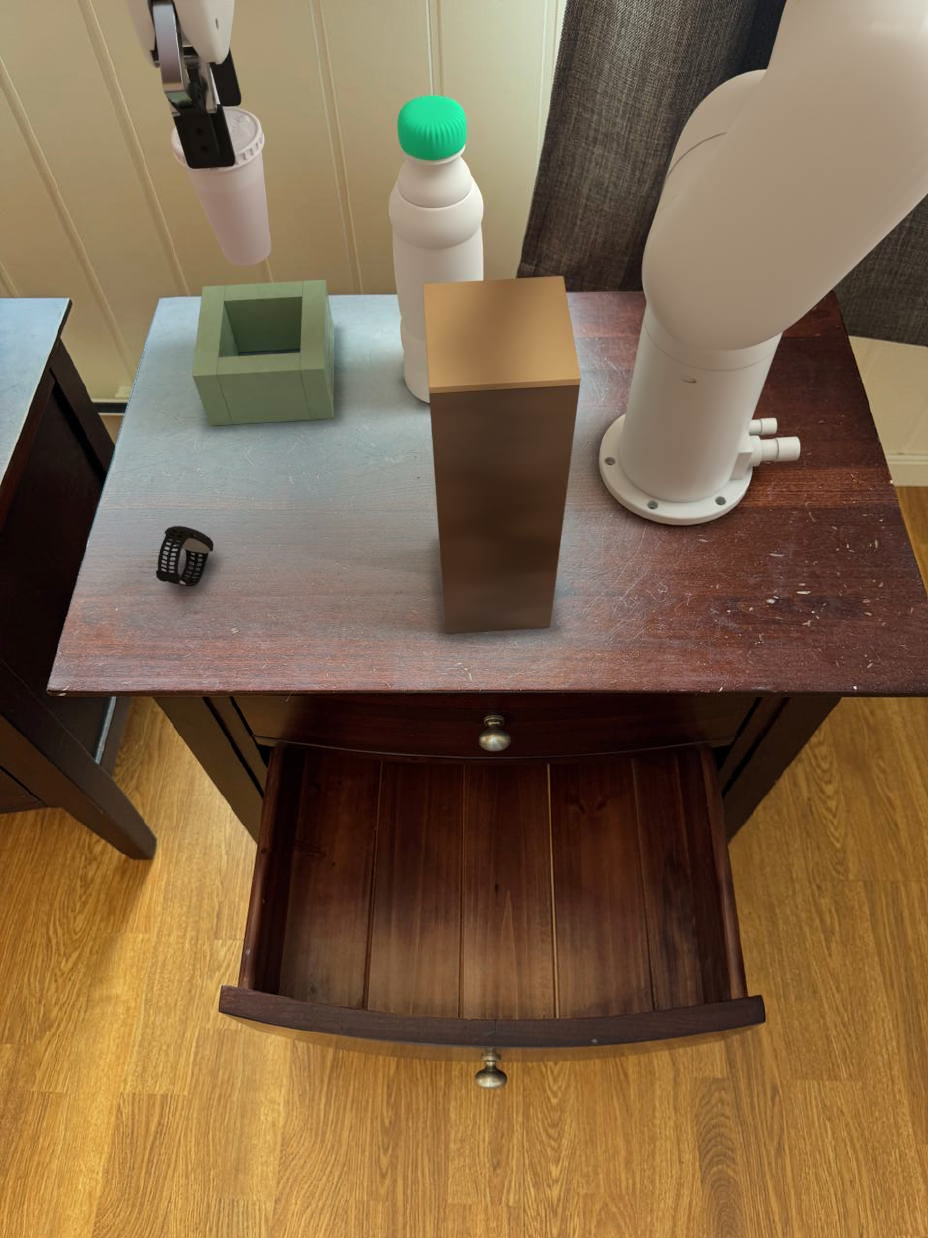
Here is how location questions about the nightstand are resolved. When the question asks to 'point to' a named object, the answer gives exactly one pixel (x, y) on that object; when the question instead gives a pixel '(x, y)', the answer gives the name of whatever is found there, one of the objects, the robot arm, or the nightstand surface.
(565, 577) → the nightstand surface
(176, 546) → the smartwatch
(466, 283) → the riser
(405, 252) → the water bottle
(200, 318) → the stand
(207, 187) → the smoothie
